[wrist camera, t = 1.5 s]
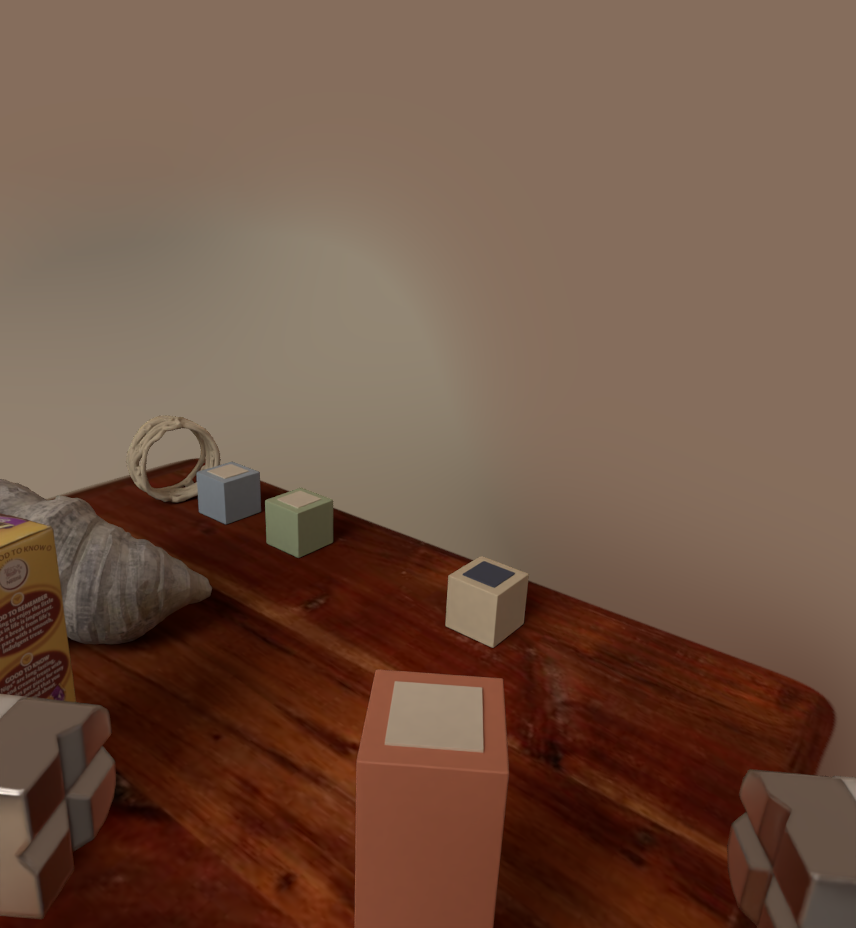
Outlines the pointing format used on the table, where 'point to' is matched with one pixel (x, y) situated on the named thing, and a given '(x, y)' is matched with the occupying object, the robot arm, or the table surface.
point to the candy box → (32, 614)
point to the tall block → (430, 801)
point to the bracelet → (153, 433)
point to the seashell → (106, 570)
